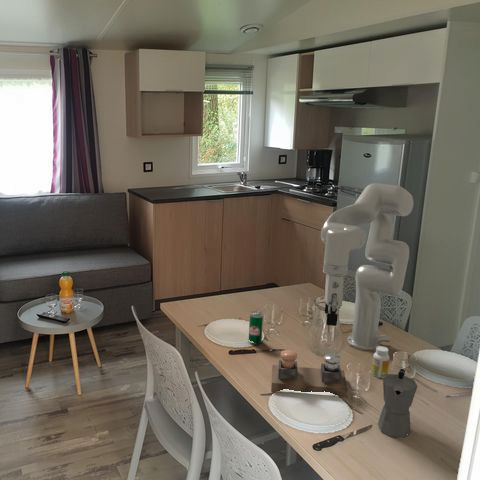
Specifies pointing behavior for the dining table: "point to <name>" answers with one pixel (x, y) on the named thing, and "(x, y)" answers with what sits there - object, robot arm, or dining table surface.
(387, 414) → the coffeepot
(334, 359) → the grey plunger
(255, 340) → the soda can
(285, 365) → the terracotta plunger
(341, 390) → the panel
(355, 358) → the dining table surface
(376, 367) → the supplement bottle
